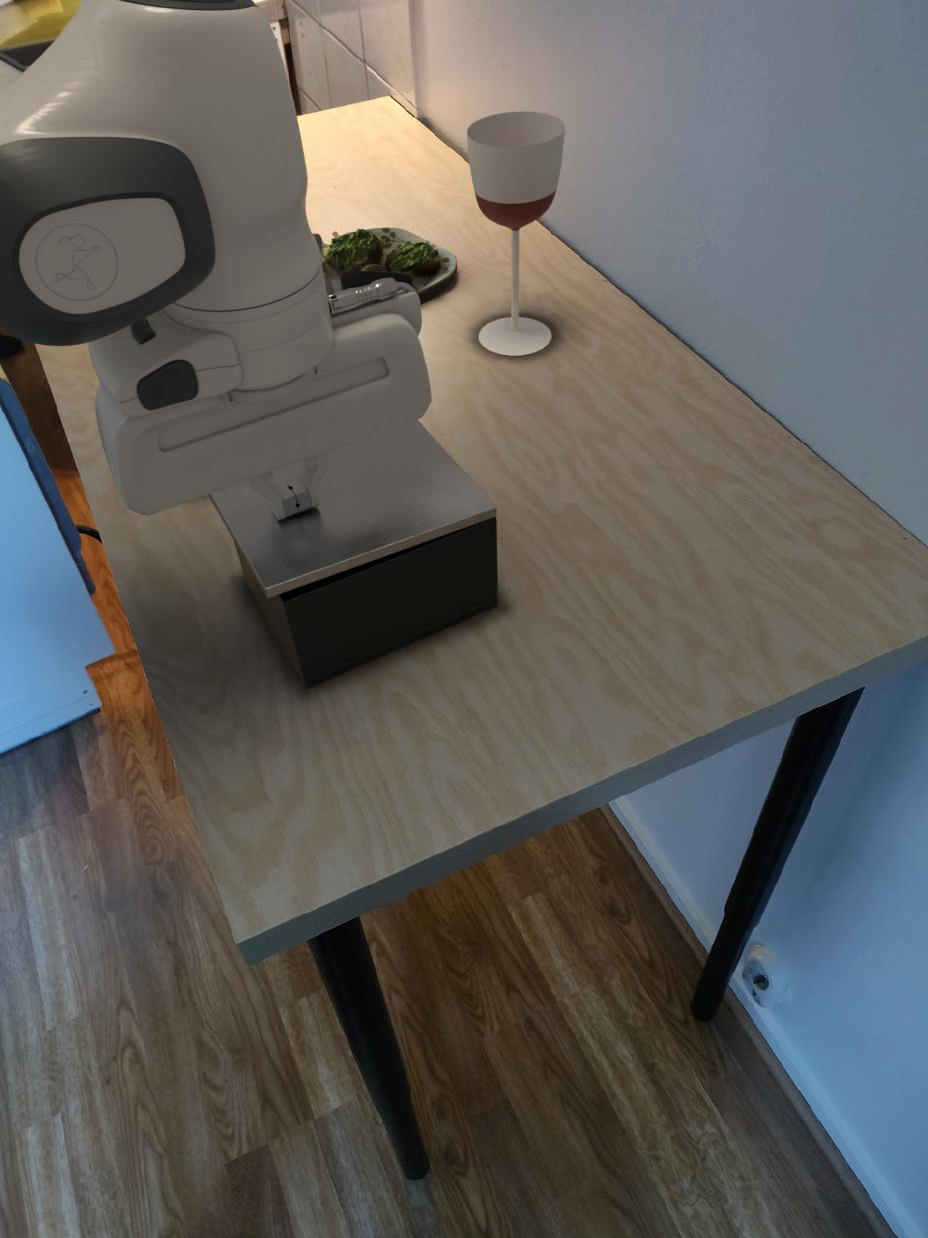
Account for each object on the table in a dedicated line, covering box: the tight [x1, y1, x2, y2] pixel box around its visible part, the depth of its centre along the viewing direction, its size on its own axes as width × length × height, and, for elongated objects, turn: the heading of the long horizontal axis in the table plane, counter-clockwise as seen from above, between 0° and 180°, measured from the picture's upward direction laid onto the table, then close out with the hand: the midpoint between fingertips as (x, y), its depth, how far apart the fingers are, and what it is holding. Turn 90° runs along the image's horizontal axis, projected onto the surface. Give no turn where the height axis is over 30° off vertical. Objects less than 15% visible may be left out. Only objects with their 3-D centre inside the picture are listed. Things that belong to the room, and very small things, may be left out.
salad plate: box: [312, 226, 458, 304], centre depth 102 cm, size 19×18×5 cm
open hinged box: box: [232, 516, 499, 689], centre depth 67 cm, size 16×13×9 cm
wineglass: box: [466, 110, 566, 357], centre depth 87 cm, size 8×9×20 cm
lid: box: [207, 419, 498, 598], centre depth 63 cm, size 16×13×1 cm
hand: (295, 508), depth 61 cm, fingers closed
